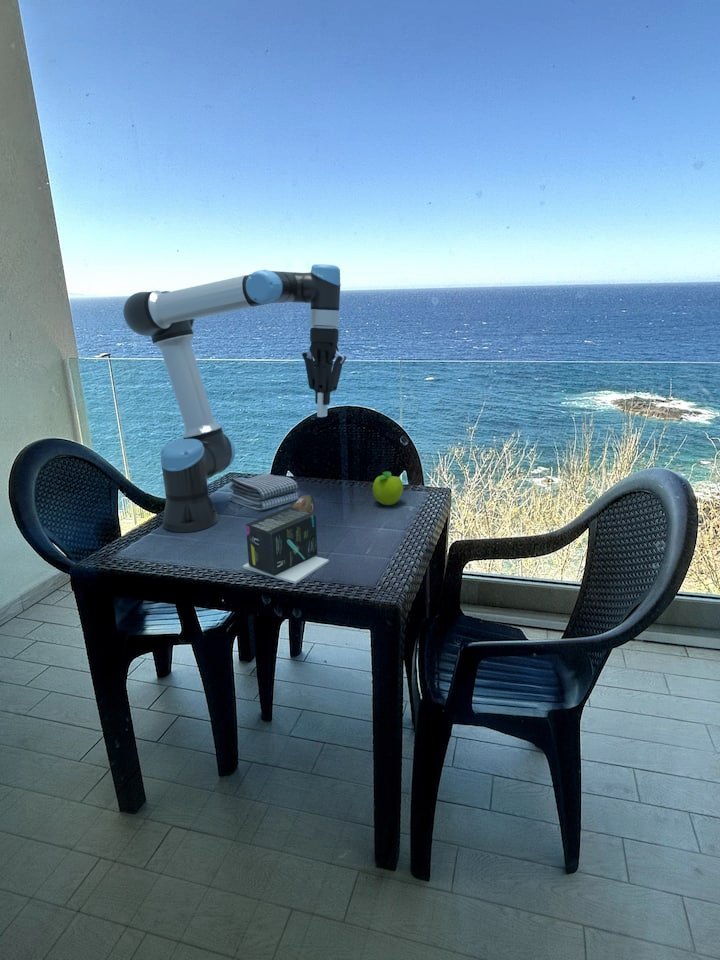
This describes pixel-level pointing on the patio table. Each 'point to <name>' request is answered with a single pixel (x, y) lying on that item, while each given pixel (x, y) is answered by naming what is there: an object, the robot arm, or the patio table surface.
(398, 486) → the fruit
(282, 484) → the towel
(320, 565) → the mat
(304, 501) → the tin
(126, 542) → the patio table surface
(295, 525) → the tampon box
